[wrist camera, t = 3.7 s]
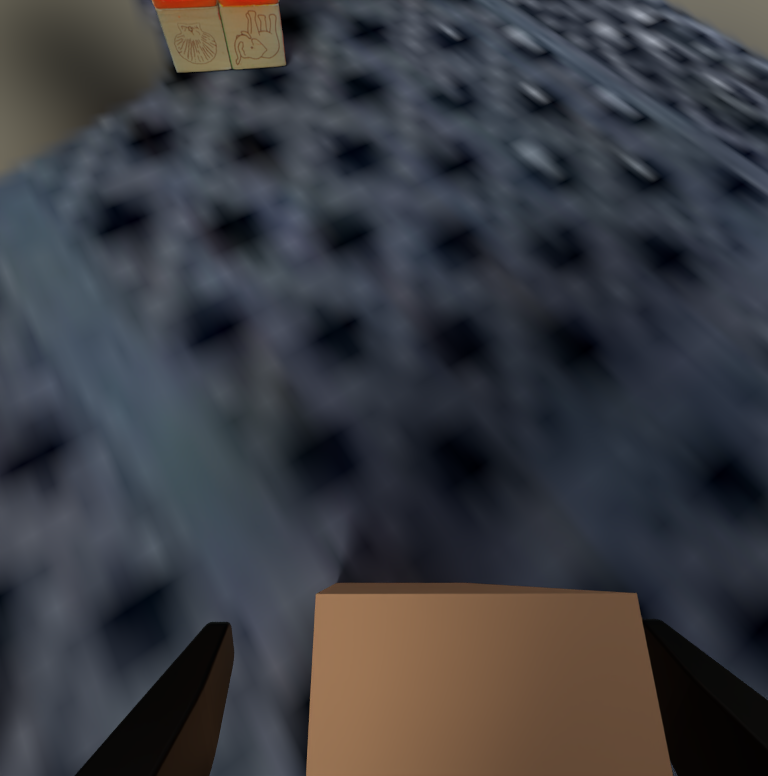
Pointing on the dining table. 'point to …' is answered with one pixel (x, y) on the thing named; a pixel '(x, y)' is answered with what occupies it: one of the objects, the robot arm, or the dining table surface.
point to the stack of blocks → (222, 33)
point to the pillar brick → (481, 683)
